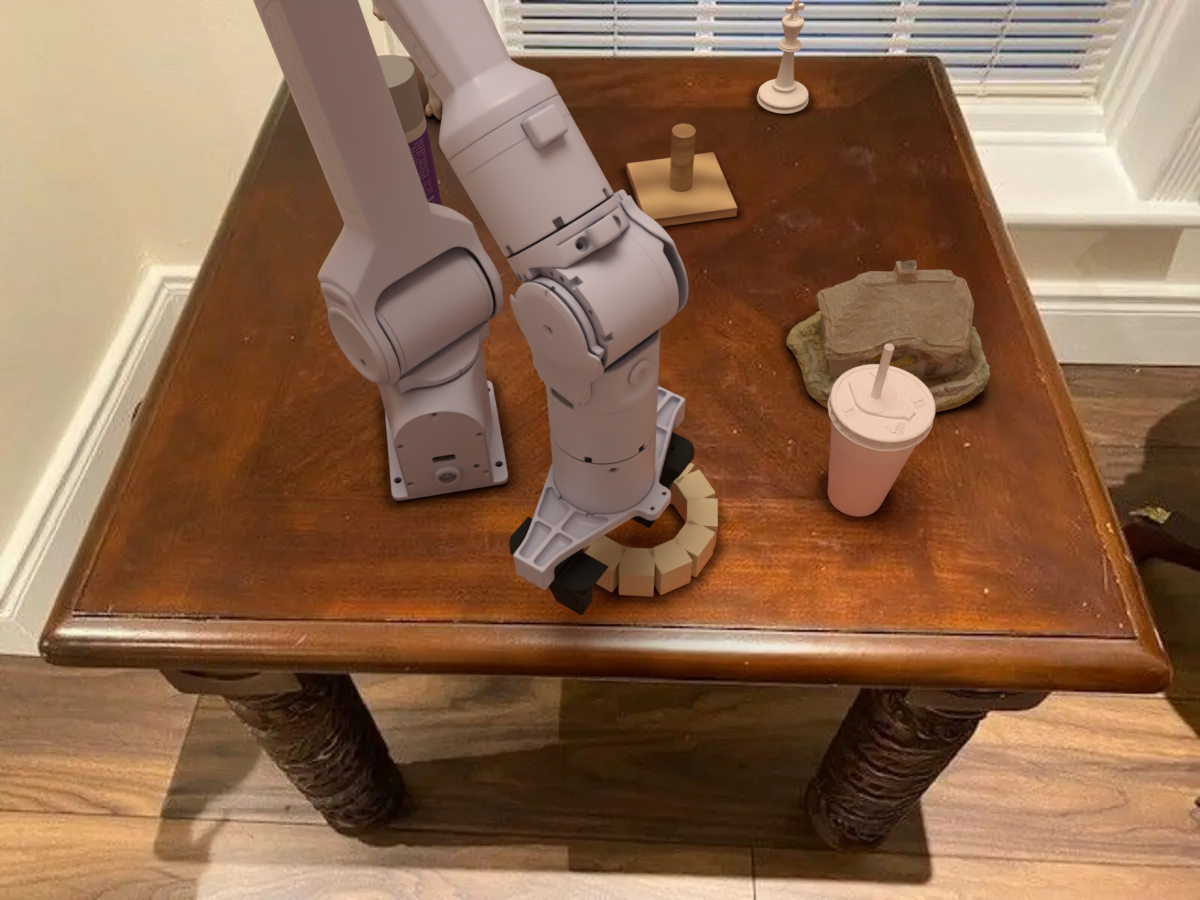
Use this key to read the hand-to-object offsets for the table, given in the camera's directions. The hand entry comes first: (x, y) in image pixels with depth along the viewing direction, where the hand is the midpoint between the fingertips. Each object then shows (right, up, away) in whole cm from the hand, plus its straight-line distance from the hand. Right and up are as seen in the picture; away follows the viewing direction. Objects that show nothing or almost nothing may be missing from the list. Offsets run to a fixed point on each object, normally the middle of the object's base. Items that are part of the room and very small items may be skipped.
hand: (606, 560), depth 65 cm
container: (-16, +26, +23) cm, 38 cm away
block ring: (+2, +2, +3) cm, 4 cm away
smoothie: (+17, +4, +5) cm, 18 cm away
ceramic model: (+21, +13, +12) cm, 28 cm away
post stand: (+7, +29, +25) cm, 39 cm away
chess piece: (+17, +41, +34) cm, 56 cm away
